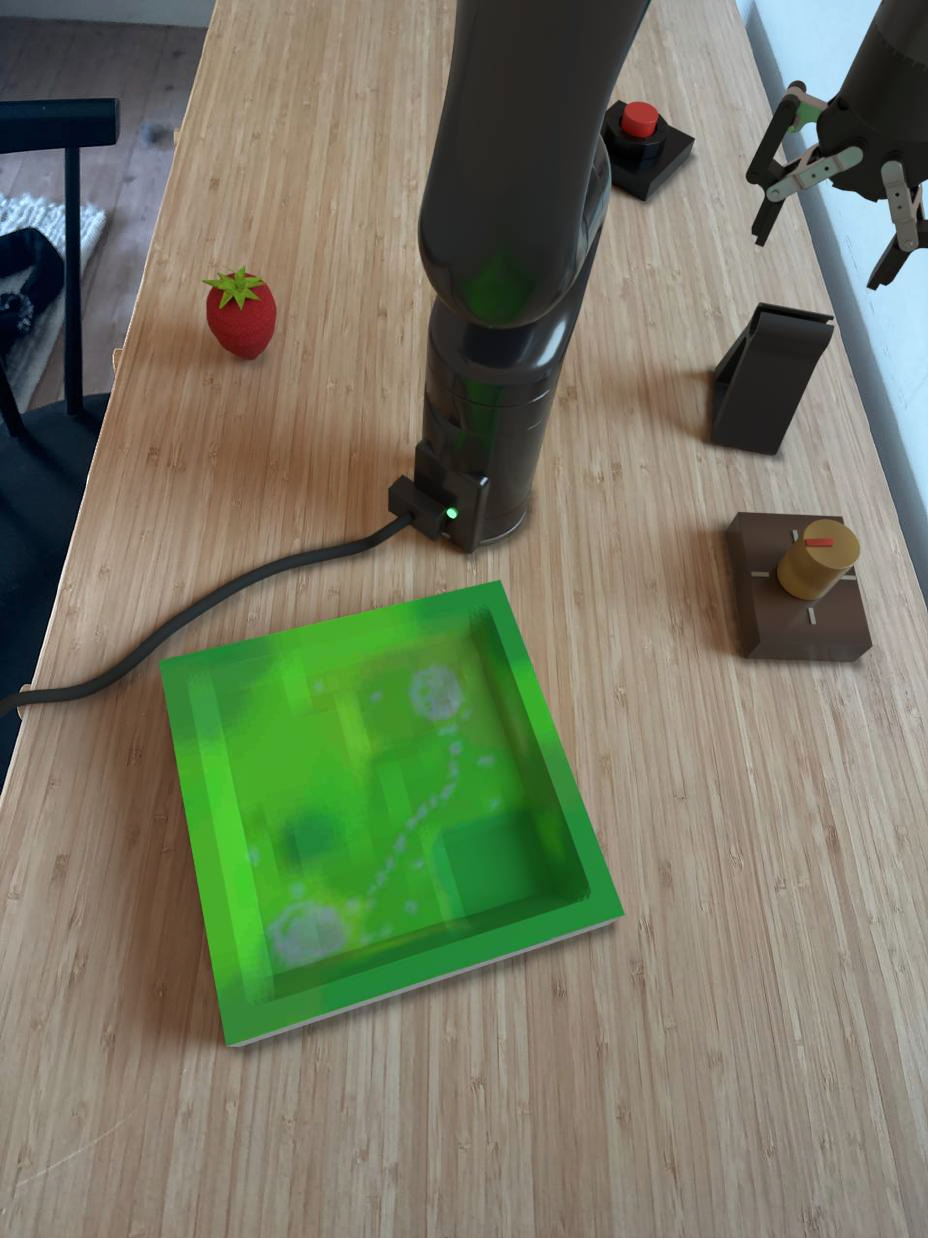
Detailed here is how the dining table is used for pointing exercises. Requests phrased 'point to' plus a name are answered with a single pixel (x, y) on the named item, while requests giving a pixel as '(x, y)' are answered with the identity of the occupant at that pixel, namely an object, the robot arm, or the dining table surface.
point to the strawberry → (241, 313)
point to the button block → (642, 153)
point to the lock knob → (818, 559)
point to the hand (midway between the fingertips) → (817, 260)
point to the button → (639, 119)
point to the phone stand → (766, 376)
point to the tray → (377, 808)
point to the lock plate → (790, 596)
